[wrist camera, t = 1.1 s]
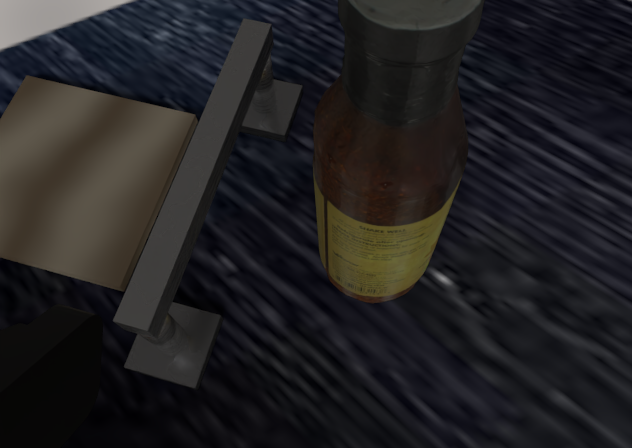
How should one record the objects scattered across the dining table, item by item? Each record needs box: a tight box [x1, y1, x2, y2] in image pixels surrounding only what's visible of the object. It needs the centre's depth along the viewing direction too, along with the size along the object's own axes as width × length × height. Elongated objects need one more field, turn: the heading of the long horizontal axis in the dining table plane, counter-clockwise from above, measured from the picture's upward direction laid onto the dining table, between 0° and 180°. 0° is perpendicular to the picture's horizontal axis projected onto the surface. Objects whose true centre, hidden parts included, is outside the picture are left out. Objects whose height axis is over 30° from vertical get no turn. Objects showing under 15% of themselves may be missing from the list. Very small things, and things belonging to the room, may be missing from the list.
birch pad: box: [0, 76, 198, 291], centre depth 35 cm, size 12×12×1 cm
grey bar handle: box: [113, 19, 303, 390], centre depth 31 cm, size 4×20×7 cm, turn 164°
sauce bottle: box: [313, 0, 485, 303], centre depth 24 cm, size 7×6×20 cm
